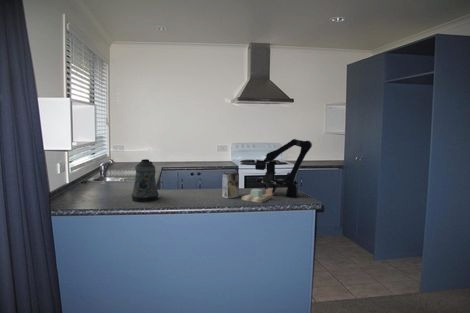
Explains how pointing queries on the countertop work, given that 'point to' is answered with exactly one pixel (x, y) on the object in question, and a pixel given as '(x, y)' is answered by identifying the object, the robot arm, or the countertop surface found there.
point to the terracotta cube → (269, 191)
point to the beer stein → (145, 182)
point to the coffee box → (230, 185)
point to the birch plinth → (256, 198)
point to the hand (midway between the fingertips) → (270, 193)
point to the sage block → (256, 192)
